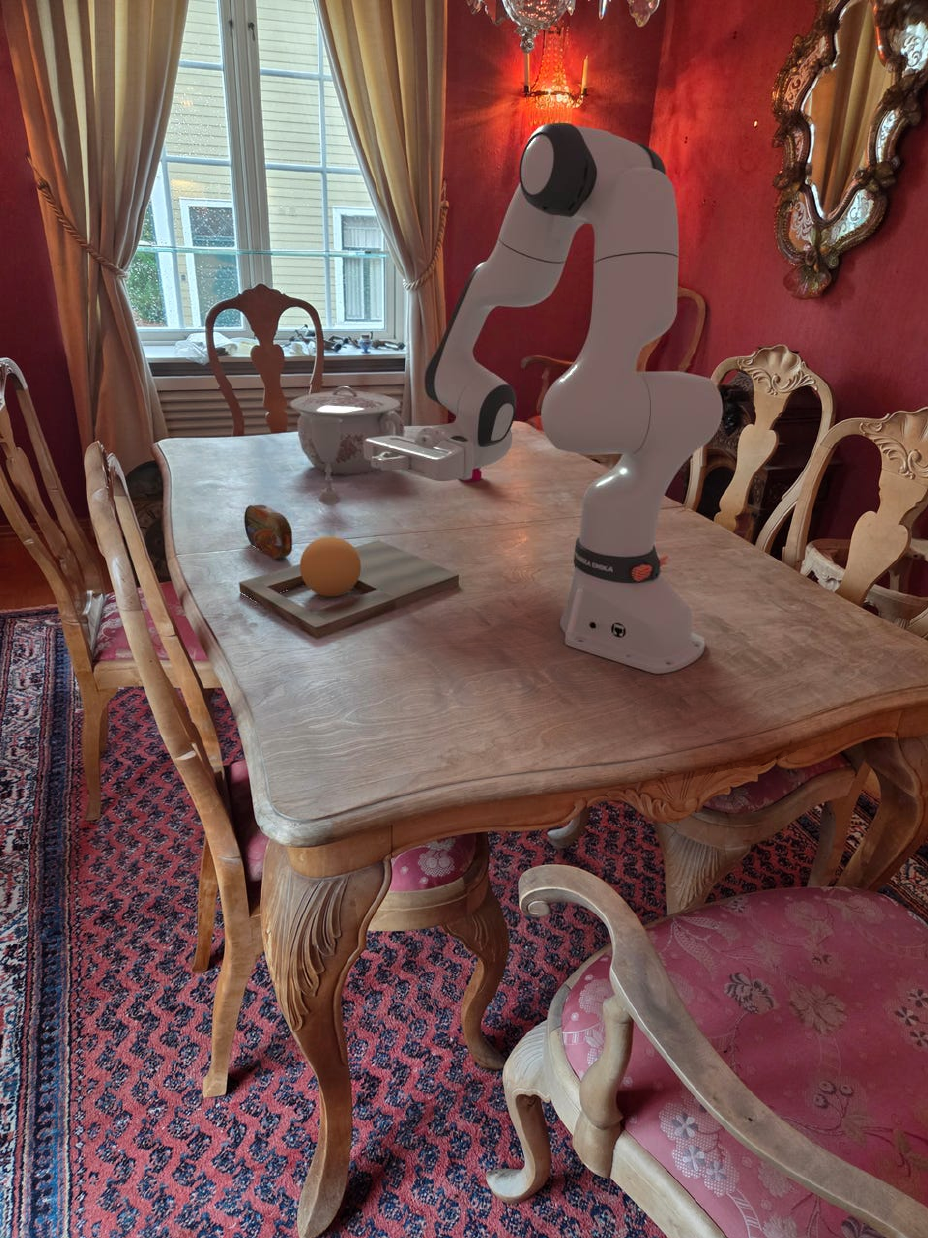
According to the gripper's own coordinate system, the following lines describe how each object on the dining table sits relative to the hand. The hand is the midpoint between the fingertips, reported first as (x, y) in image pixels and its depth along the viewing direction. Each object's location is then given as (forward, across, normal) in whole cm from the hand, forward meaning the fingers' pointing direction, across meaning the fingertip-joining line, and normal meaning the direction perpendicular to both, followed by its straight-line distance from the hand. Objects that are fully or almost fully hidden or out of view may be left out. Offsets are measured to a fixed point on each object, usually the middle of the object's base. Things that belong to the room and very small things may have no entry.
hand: (376, 464), depth 125 cm
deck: (+5, -1, +21) cm, 21 cm away
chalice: (-20, -43, +20) cm, 51 cm away
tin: (+7, -25, +21) cm, 33 cm away
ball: (+9, -1, +16) cm, 19 cm away
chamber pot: (-40, -61, +19) cm, 75 cm away
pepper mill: (-57, -34, +20) cm, 70 cm away
